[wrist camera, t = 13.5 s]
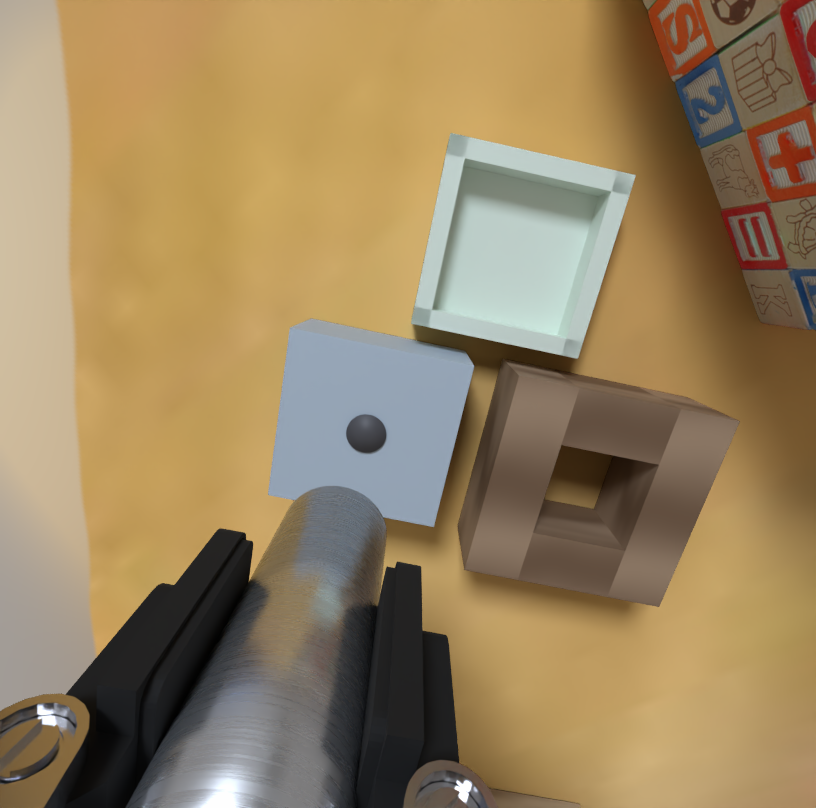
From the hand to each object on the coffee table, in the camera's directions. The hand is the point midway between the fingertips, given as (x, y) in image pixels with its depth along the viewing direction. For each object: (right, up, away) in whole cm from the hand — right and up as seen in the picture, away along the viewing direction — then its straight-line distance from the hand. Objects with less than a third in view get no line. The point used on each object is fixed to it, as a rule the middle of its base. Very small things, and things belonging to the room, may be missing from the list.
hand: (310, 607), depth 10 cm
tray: (+7, +12, +12) cm, 18 cm away
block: (0, +4, +14) cm, 15 cm away
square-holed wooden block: (+11, +1, +15) cm, 19 cm away
